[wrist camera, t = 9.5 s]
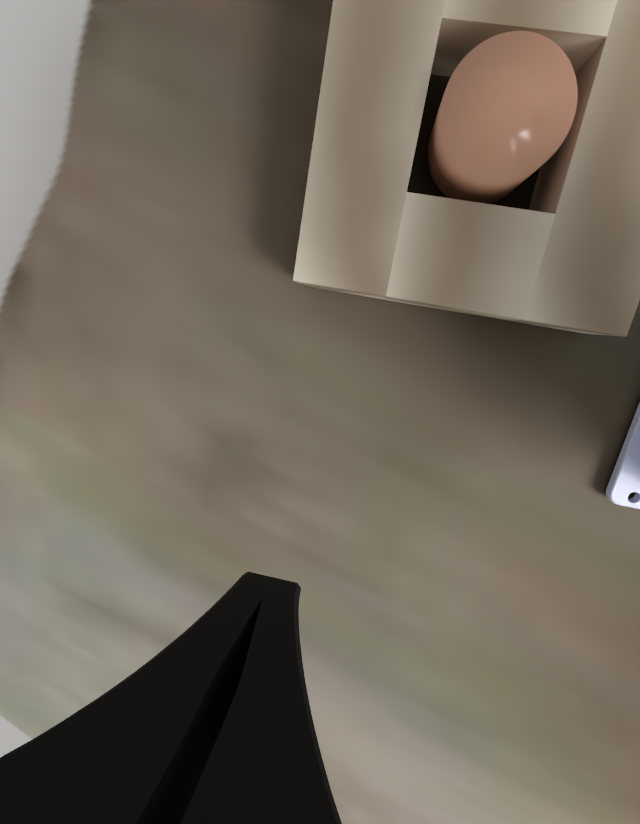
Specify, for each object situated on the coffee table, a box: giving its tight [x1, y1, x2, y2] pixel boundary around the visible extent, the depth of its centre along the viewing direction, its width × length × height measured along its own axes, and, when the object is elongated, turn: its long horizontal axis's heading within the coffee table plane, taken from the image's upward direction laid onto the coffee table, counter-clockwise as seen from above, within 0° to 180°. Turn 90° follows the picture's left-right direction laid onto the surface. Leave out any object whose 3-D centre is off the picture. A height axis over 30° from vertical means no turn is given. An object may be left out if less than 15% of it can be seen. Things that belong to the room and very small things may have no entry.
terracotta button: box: [427, 31, 578, 204], centre depth 14 cm, size 4×4×3 cm
